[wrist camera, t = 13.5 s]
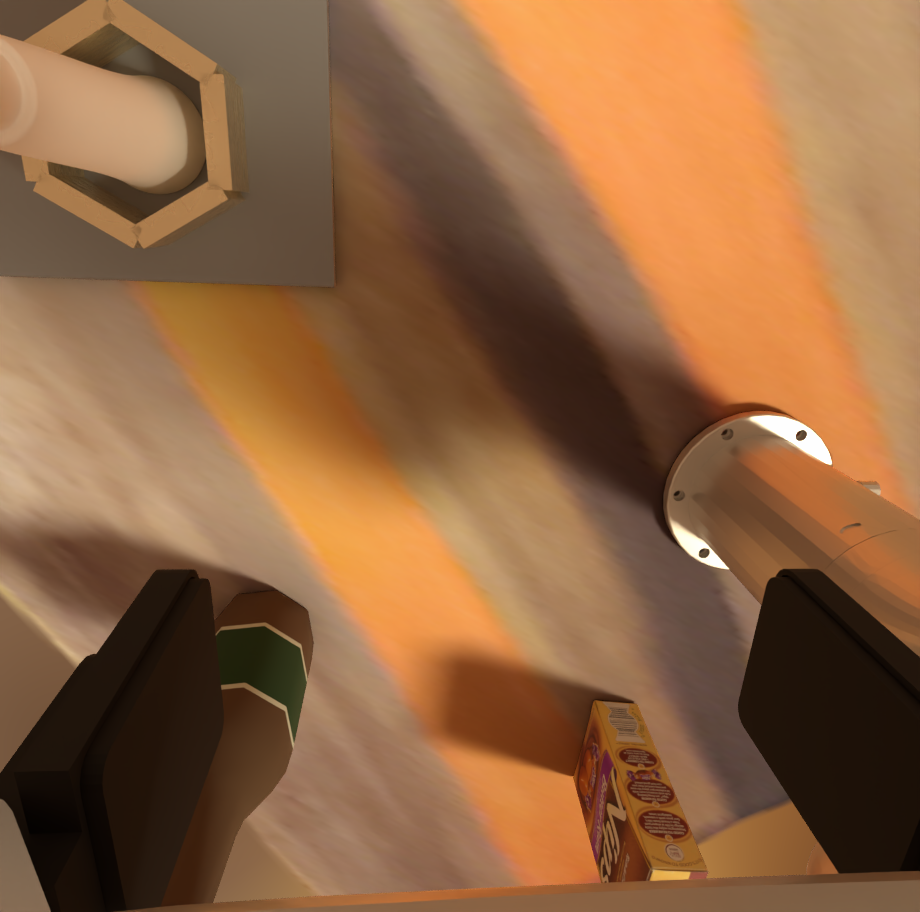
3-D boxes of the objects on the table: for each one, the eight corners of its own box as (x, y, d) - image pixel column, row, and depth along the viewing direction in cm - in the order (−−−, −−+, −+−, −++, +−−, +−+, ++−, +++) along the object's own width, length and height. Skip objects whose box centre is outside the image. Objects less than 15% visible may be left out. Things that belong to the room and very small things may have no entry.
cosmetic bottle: (230, 140, 37) (15, 57, 17) (162, 217, 38) (-116, 227, 18) (142, 50, 35) (-220, -169, 15) (74, 133, 37) (-350, 37, 16)
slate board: (328, -13, 36) (326, -19, 35) (335, 285, 42) (334, 287, 41) (-59, -41, 34) (-72, -48, 33) (4, 274, 40) (-6, 275, 39)
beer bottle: (193, 612, 49) (15, 950, 27) (282, 569, 48) (177, 878, 26) (250, 684, 52) (132, 1045, 30) (335, 644, 51) (281, 983, 29)
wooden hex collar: (237, 22, 35) (217, 0, 32) (253, 248, 39) (237, 252, 36) (35, 8, 34) (-10, -16, 31) (72, 241, 38) (37, 244, 35)
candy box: (588, 698, 55) (652, 868, 41) (637, 700, 56) (716, 870, 41) (568, 777, 58) (620, 962, 44) (614, 779, 59) (681, 963, 44)
